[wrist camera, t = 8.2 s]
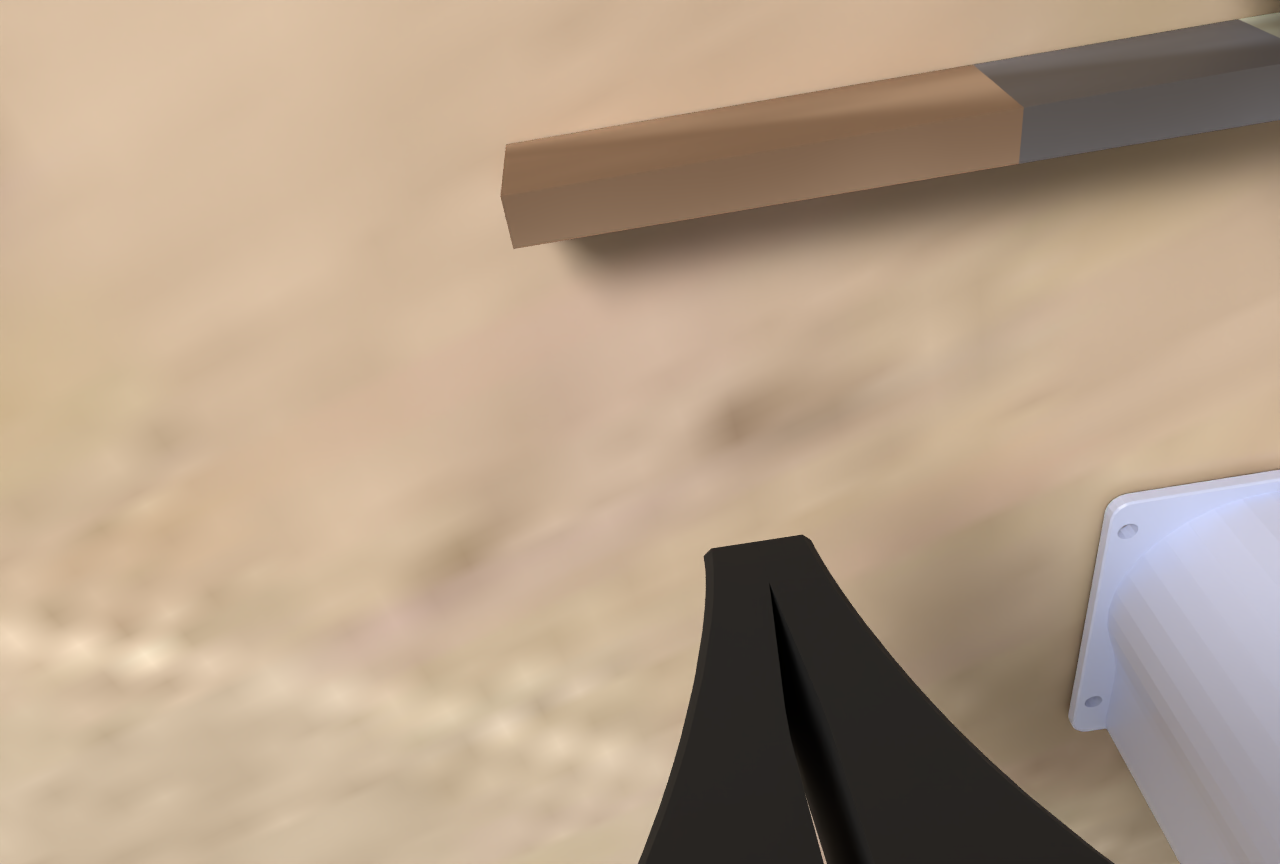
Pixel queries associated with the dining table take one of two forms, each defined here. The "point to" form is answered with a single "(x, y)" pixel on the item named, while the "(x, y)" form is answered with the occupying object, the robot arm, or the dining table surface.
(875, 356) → the dining table surface
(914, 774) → the robot arm
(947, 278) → the dining table surface
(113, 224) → the dining table surface
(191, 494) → the dining table surface
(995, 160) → the trap channel
